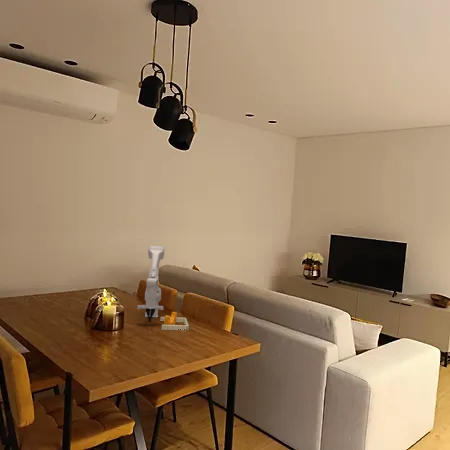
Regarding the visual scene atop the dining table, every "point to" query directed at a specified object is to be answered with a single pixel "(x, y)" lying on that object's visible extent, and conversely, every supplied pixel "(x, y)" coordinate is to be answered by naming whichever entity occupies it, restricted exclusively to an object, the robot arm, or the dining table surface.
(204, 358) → the dining table surface
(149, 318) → the robot arm
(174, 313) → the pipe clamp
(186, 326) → the bracket
